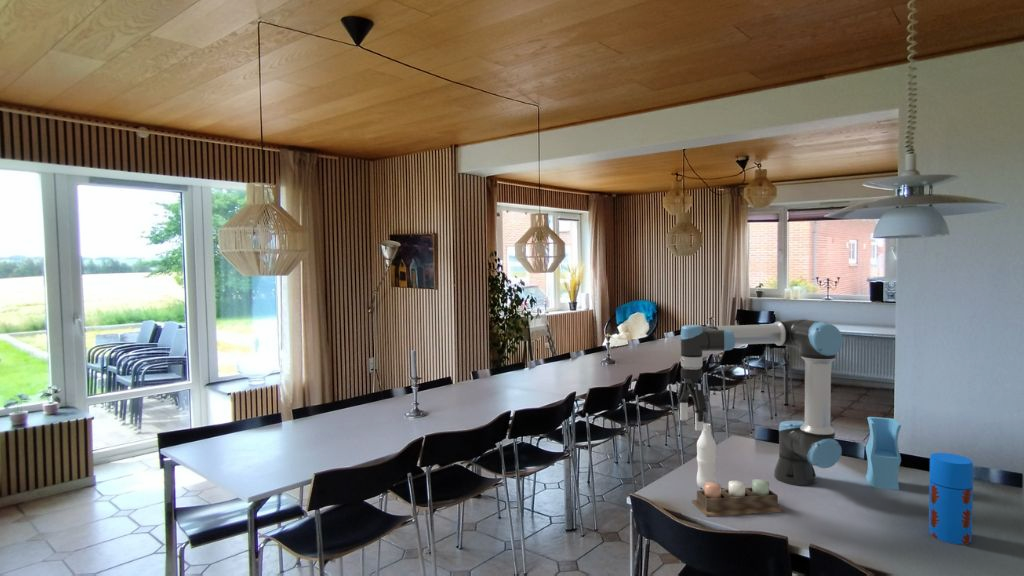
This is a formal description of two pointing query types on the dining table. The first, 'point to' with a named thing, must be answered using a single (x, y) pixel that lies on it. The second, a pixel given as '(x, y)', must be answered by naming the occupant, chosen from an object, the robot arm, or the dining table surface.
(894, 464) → the vase
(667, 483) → the dining table surface
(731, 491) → the cream key
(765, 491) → the pale green rounded block
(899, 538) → the dining table surface
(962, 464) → the thermos
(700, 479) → the water bottle
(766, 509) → the brown wooden holder
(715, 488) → the pink rounded block
